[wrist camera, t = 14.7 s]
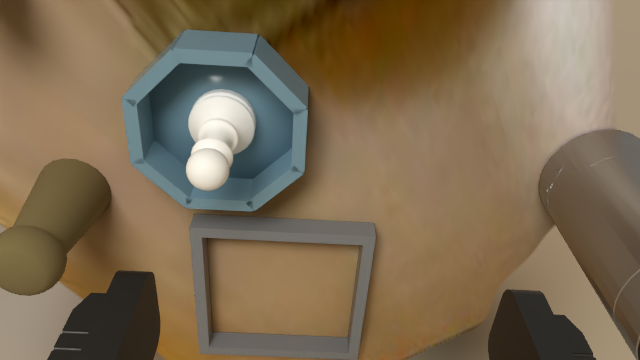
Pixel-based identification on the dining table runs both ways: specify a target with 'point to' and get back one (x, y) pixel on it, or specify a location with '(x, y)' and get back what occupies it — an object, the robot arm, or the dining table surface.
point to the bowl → (179, 98)
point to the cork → (51, 225)
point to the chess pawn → (218, 136)
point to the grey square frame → (286, 232)
